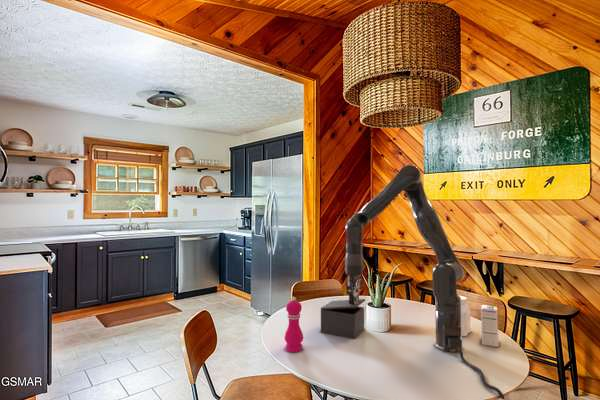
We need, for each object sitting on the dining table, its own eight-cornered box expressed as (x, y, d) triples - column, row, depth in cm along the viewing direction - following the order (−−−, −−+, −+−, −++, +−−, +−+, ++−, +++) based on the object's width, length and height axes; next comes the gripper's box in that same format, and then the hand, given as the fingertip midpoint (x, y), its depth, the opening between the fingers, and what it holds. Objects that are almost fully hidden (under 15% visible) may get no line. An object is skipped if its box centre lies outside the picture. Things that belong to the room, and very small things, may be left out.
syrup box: (498, 347, 135) (498, 309, 135) (481, 344, 138) (480, 307, 138) (498, 342, 140) (497, 306, 140) (481, 339, 143) (481, 304, 143)
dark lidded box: (364, 329, 155) (364, 307, 155) (354, 338, 144) (354, 314, 144) (332, 323, 163) (332, 302, 163) (320, 332, 152) (320, 309, 152)
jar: (449, 325, 160) (449, 292, 160) (472, 330, 154) (471, 296, 154) (441, 332, 151) (441, 297, 151) (465, 337, 145) (464, 301, 145)
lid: (365, 300, 155) (363, 288, 156) (355, 307, 144) (353, 295, 145) (332, 302, 163) (330, 291, 163) (320, 309, 152) (318, 297, 152)
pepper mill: (302, 345, 138) (302, 294, 138) (303, 352, 130) (303, 299, 131) (284, 345, 137) (284, 294, 138) (284, 353, 130) (284, 299, 130)
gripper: (356, 266, 143) (356, 307, 143) (367, 261, 156) (367, 299, 156) (339, 265, 147) (339, 305, 147) (351, 260, 160) (351, 297, 159)
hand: (353, 302), depth 151 cm, fingers closed on lid, 5 cm apart
